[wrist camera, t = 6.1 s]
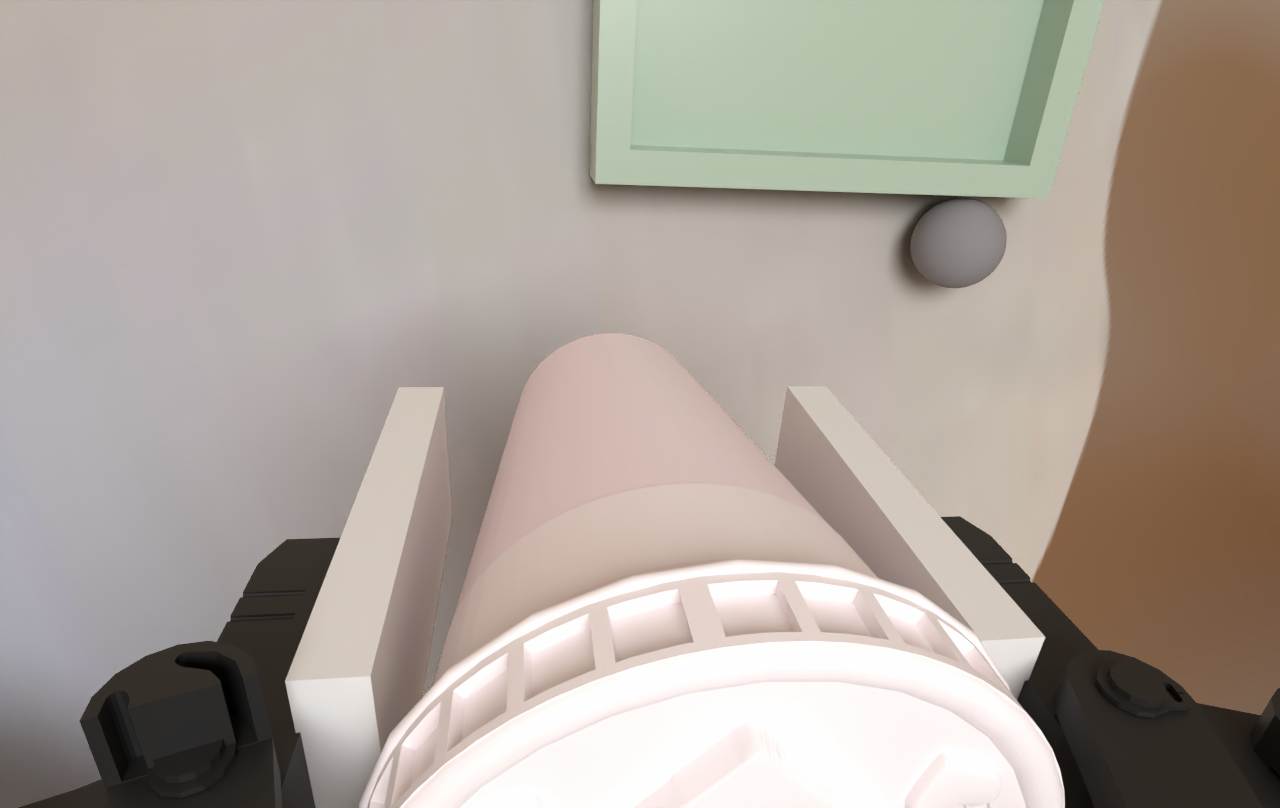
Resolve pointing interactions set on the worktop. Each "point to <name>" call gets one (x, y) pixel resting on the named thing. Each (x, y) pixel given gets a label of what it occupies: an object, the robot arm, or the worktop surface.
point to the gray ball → (958, 243)
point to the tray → (837, 93)
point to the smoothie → (690, 632)
